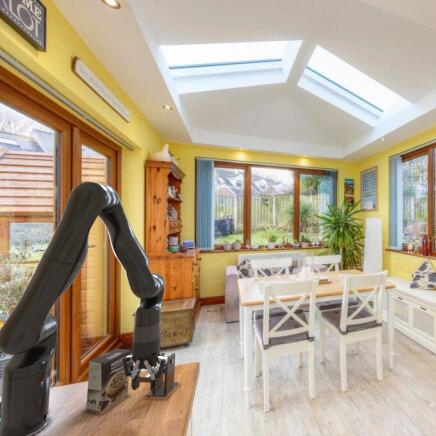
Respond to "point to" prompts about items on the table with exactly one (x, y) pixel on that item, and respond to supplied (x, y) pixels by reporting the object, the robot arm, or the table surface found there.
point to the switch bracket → (166, 379)
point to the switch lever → (145, 379)
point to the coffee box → (107, 380)
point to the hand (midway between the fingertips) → (144, 388)
